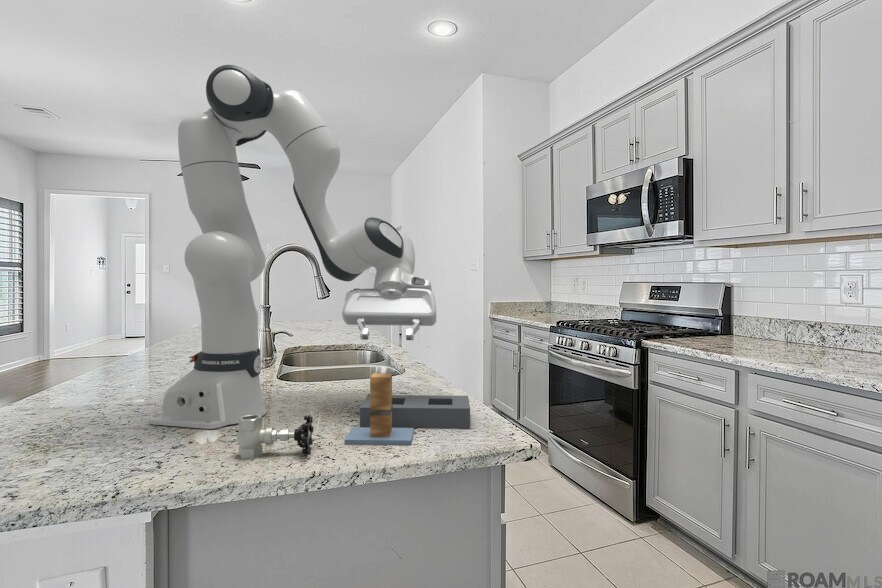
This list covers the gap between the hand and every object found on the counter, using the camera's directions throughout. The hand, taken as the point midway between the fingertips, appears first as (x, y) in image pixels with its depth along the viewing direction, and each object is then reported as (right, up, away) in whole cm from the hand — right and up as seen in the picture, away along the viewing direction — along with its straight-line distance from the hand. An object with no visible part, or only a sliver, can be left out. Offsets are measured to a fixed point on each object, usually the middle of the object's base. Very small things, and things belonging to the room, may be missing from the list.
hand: (386, 338), depth 98 cm
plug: (0, -17, -9) cm, 19 cm away
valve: (-17, -18, -17) cm, 31 cm away
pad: (0, -18, -9) cm, 20 cm away
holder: (+6, -17, +2) cm, 18 cm away
